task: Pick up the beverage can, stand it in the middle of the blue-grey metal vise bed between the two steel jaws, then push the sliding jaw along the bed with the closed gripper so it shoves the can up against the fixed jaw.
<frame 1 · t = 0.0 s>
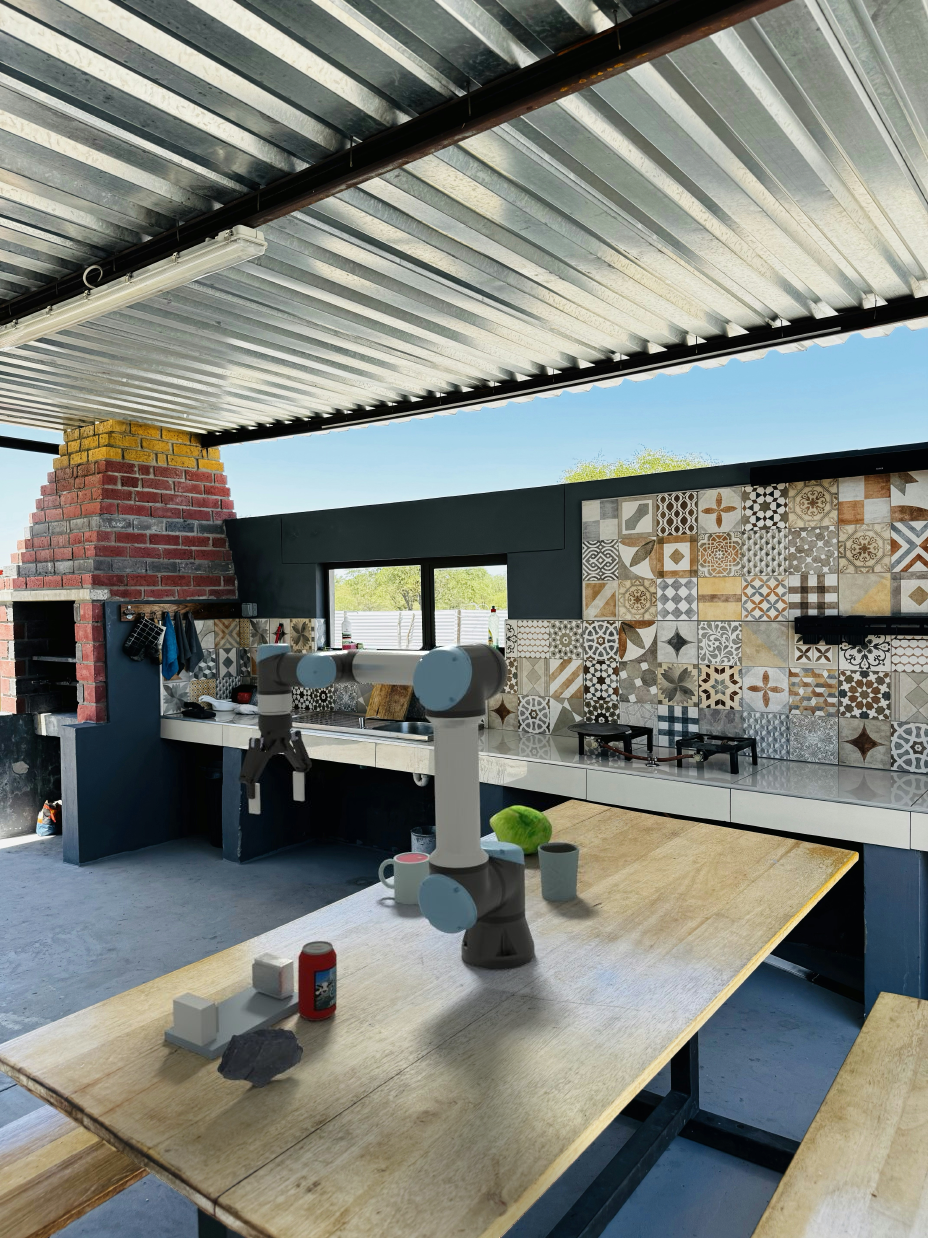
hand: (277, 806, 189), 28 cm above the table, fingers open, 13 cm apart
grey-green cup: (559, 896, 208), on the table
mug: (404, 897, 209), on the table
vise bed: (239, 1021, 148), on the table
beverage can: (317, 1015, 149), on the table
lettuce: (521, 853, 245), on the table
sliding jaw: (272, 976, 154), point 5 cm above the table, slide at 0.0 cm
stone: (264, 1088, 127), on the table
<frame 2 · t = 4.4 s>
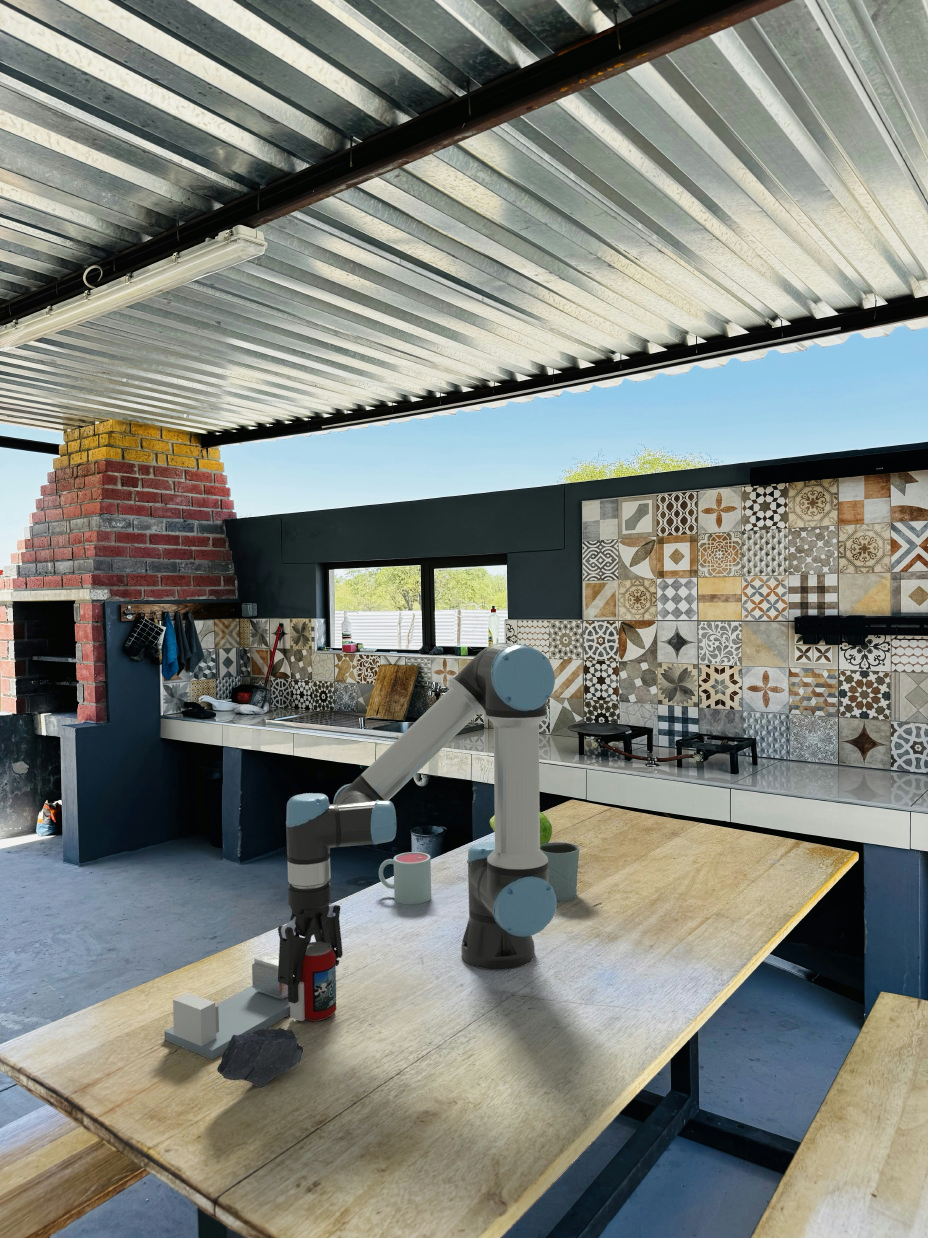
hand: (312, 1009, 150), 1 cm above the table, fingers closed on beverage can, 7 cm apart
beverage can: (317, 1015, 149), on the table, touching gripper
everything else where it was.
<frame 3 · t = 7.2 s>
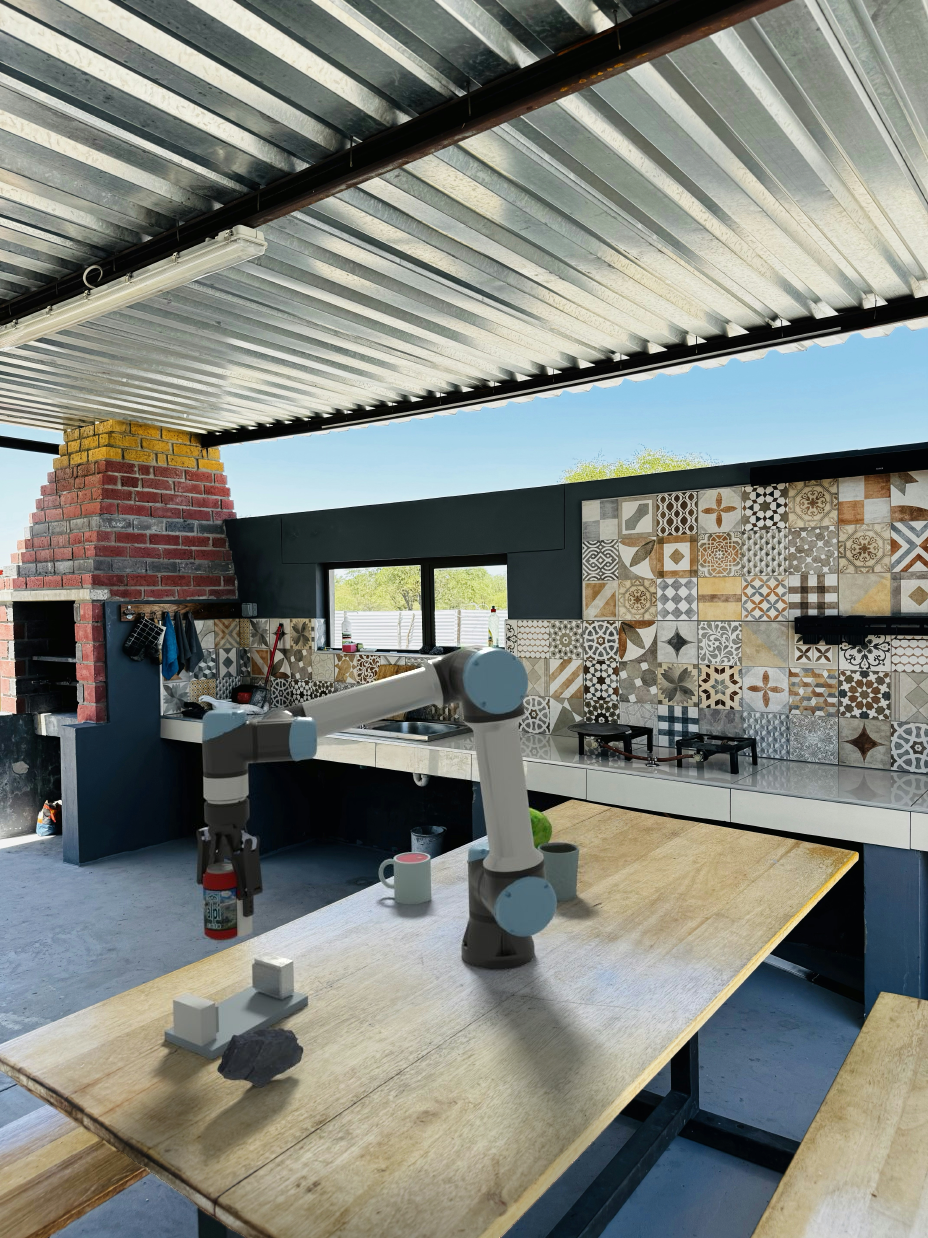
hand: (230, 930, 146), 17 cm above the table, fingers closed on beverage can, 7 cm apart
beverage can: (224, 936, 145), point 16 cm above the table, touching gripper
everything else where it was.
when the fingers open (2 cm above the table, at t = 10.1 s): beverage can stays where it is, resting on vise bed.
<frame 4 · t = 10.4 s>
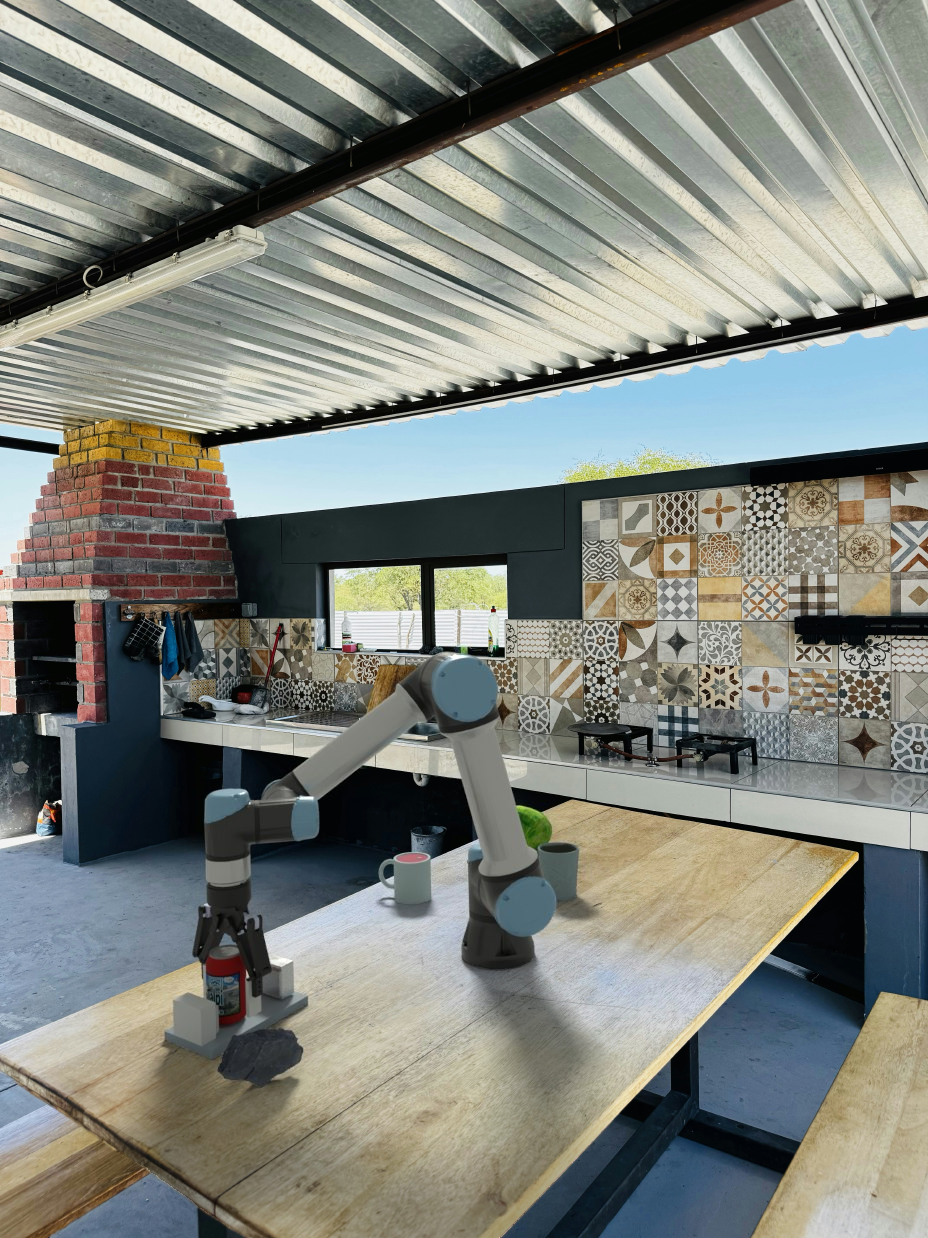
hand: (232, 1006, 146), 3 cm above the table, fingers open, 10 cm apart
beverage can: (227, 1020, 145), point 1 cm above the table, touching vise bed
everything else where it was.
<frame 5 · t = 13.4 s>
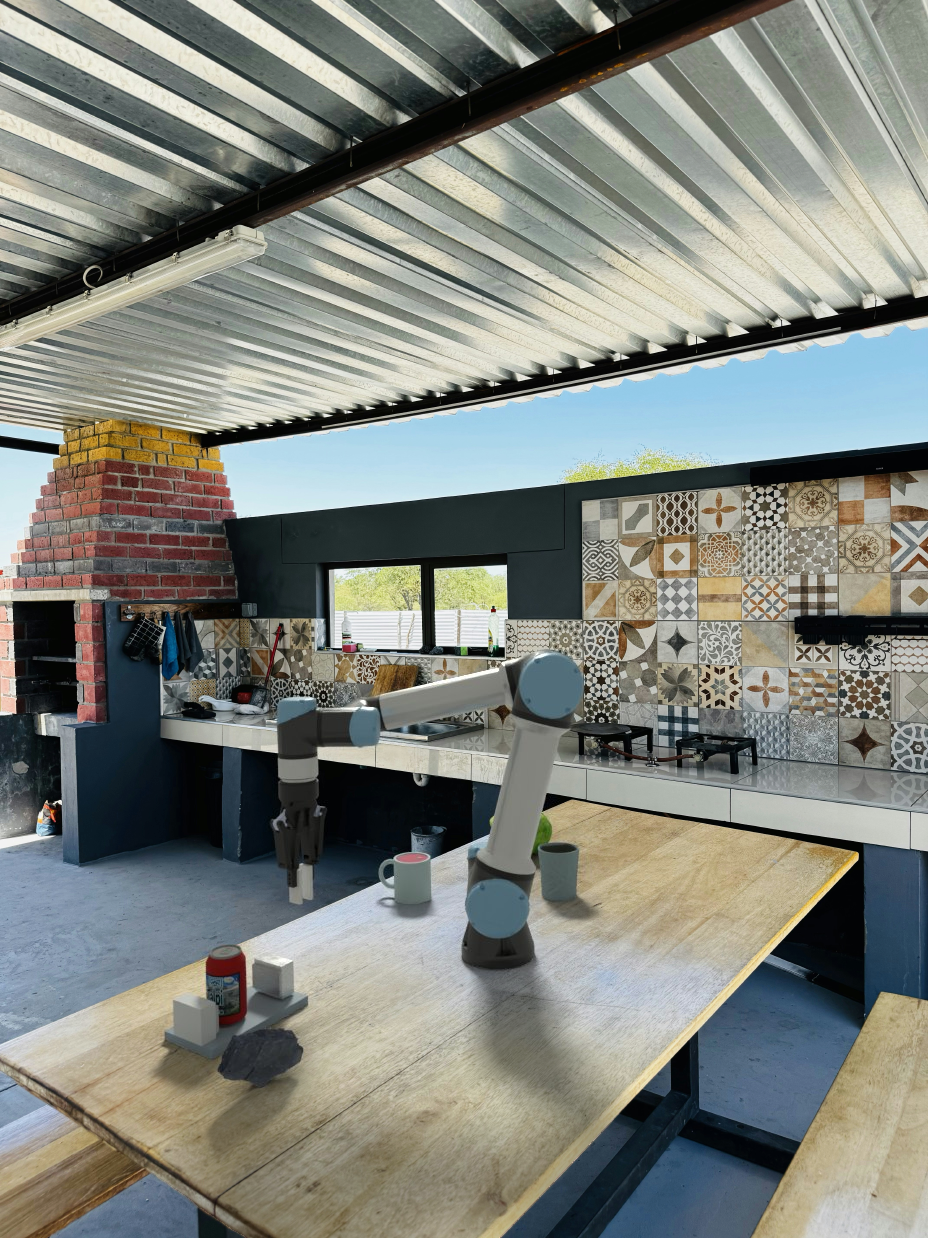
hand: (301, 900, 161), 16 cm above the table, fingers open, 2 cm apart
nothing on the table moved.
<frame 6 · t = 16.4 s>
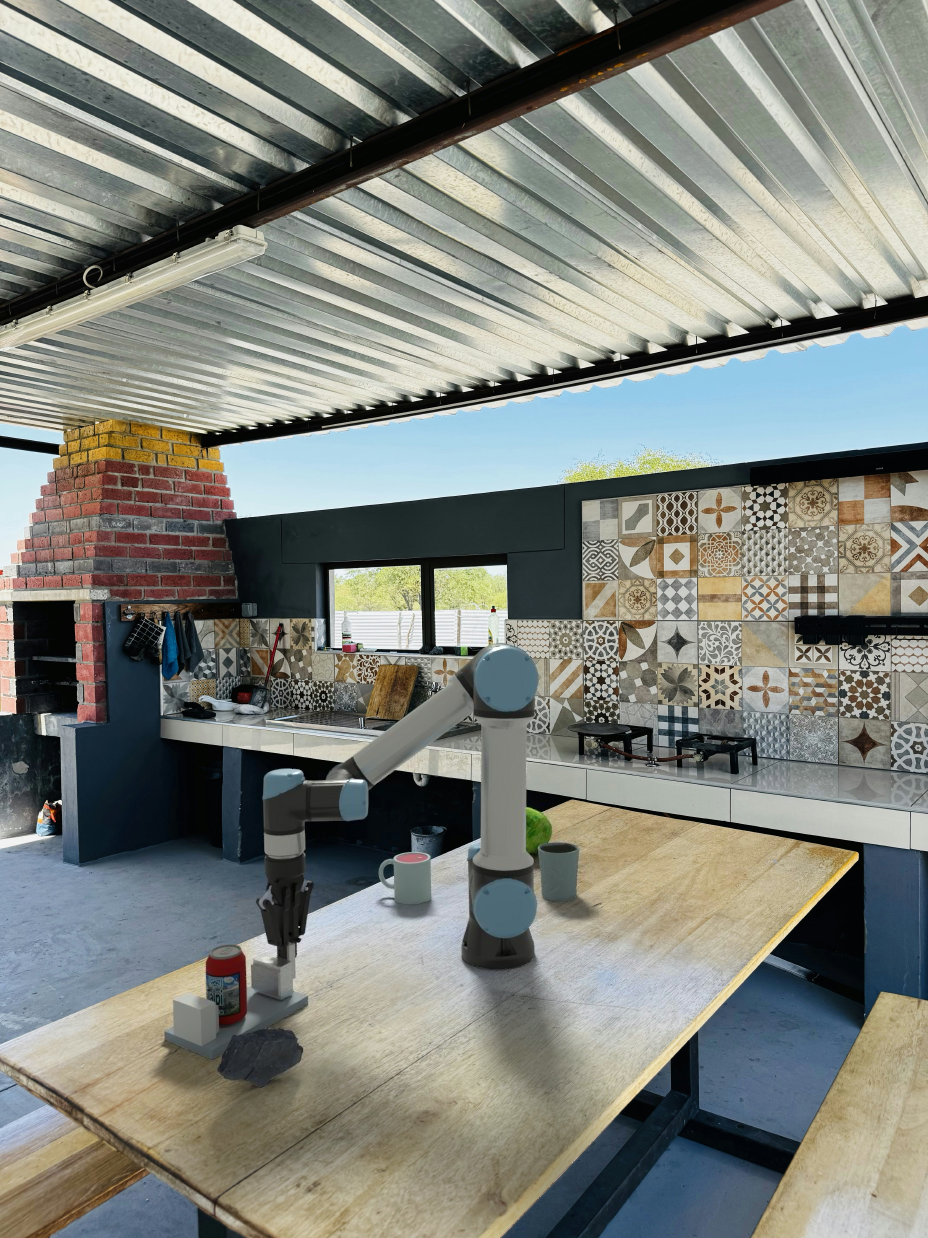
hand: (287, 977, 158), 3 cm above the table, fingers closed
sliding jaw: (271, 977, 154), point 5 cm above the table, slide at 0.3 cm, touching gripper
everything else where it was.
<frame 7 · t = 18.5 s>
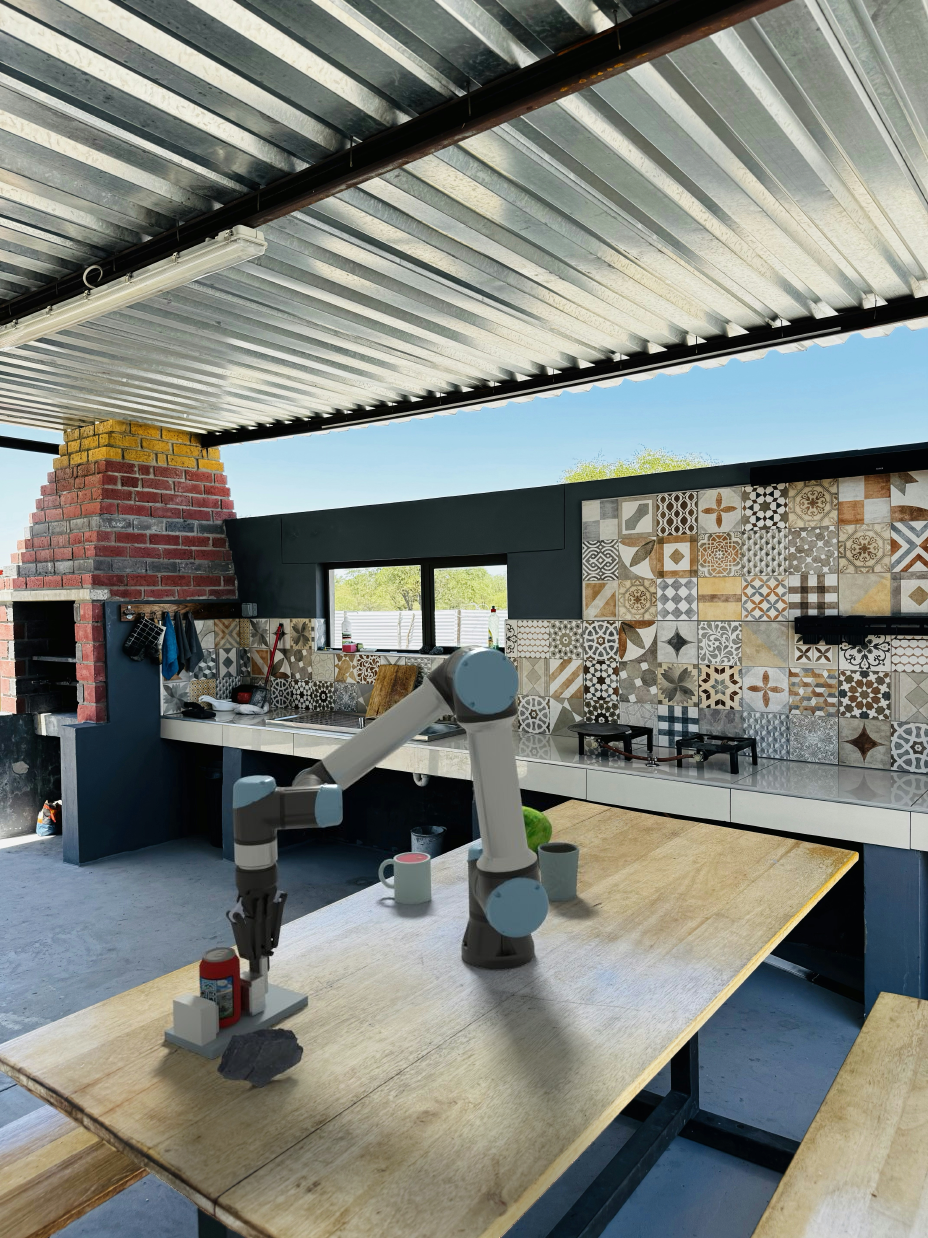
hand: (260, 992, 152), 3 cm above the table, fingers closed
beverage can: (221, 1023, 144), point 1 cm above the table, touching sliding jaw, vise bed
sliding jaw: (243, 991, 148), point 5 cm above the table, slide at 7.1 cm, touching beverage can, gripper
everything else where it was.
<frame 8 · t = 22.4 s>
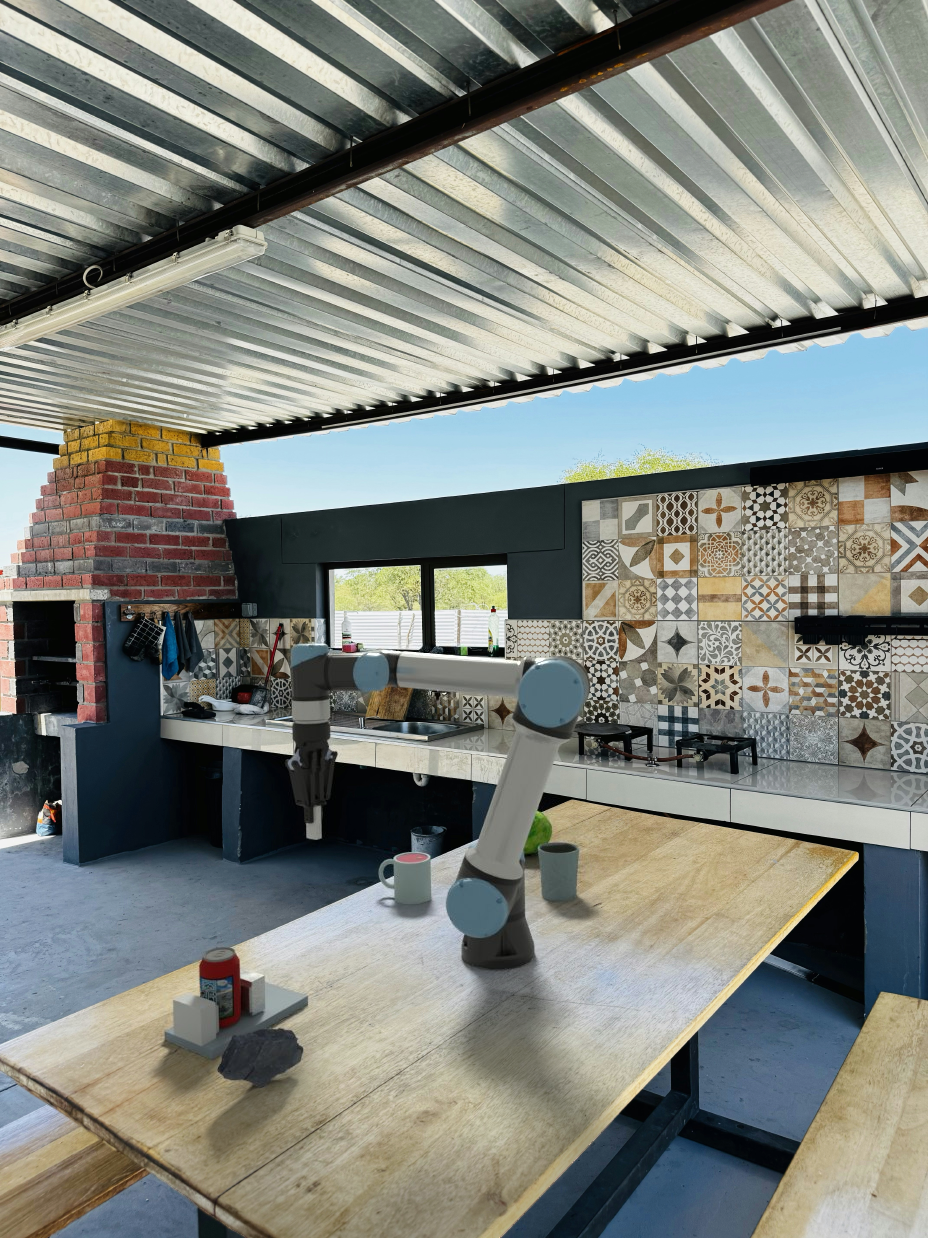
hand: (314, 838, 168), 26 cm above the table, fingers closed
beverage can: (221, 1023, 144), point 1 cm above the table, touching vise bed
sliding jaw: (243, 991, 148), point 5 cm above the table, slide at 7.1 cm
everything else where it was.
at the end: beverage can inside the target area (0.5 cm from its centre), point 1.3 cm above the table; beverage can tilted 0°; sliding jaw slide at 7.1 cm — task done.
